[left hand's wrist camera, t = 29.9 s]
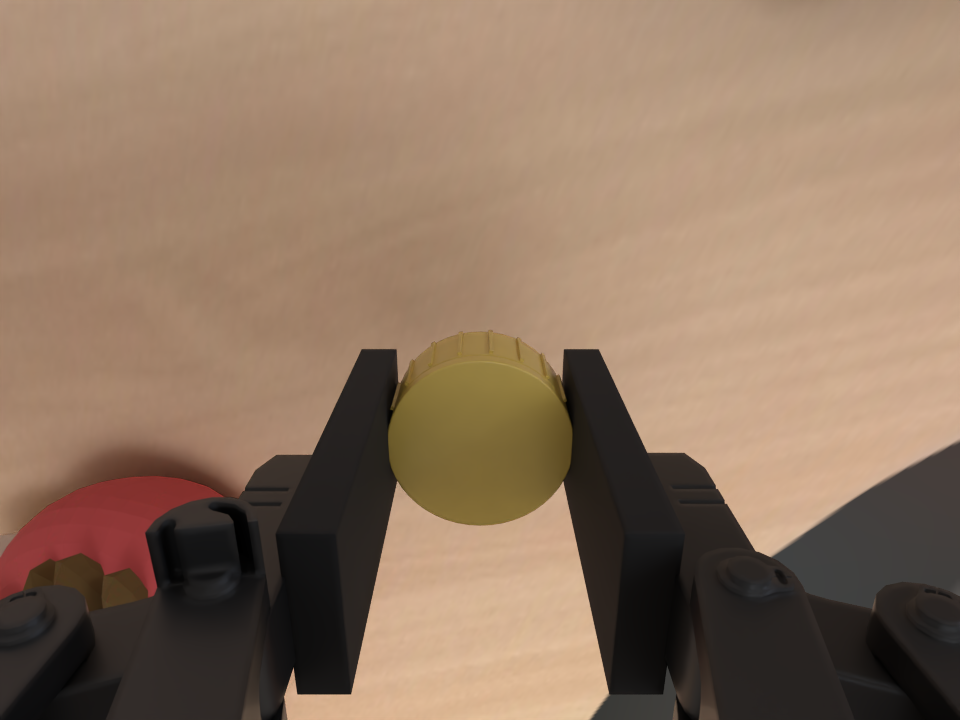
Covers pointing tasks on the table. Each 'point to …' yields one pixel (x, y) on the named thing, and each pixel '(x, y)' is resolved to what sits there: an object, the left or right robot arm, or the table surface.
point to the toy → (95, 540)
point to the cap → (480, 429)
